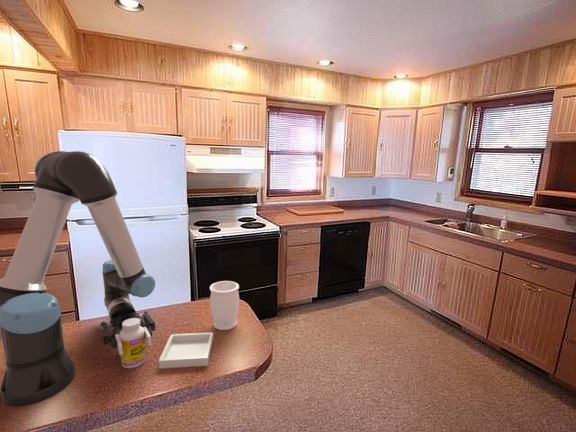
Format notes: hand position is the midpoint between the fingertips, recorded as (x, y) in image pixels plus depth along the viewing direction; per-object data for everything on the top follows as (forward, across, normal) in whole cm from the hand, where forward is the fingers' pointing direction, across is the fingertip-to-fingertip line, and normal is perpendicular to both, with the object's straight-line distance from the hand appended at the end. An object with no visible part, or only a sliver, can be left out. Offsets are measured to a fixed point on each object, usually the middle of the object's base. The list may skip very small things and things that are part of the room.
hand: (135, 345), depth 84 cm
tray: (0, -14, -8) cm, 17 cm away
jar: (-9, -31, -8) cm, 33 cm away
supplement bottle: (-5, 0, -8) cm, 10 cm away
